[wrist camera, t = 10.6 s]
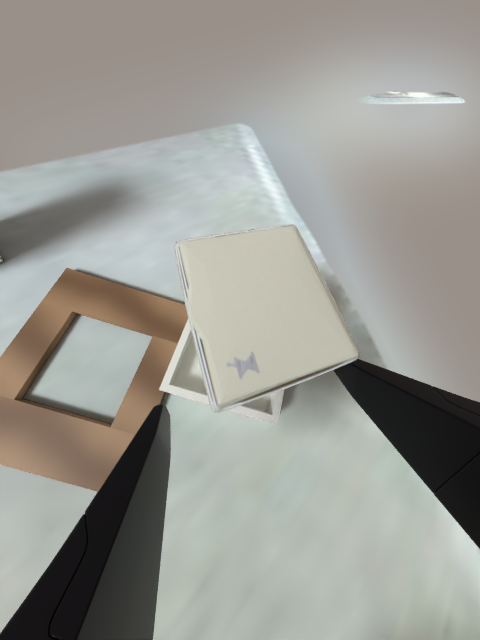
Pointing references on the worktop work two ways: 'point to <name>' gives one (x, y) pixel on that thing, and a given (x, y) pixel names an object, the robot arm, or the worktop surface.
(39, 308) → the walnut frame
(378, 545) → the worktop surface
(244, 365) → the box
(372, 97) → the worktop surface
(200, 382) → the white tray
